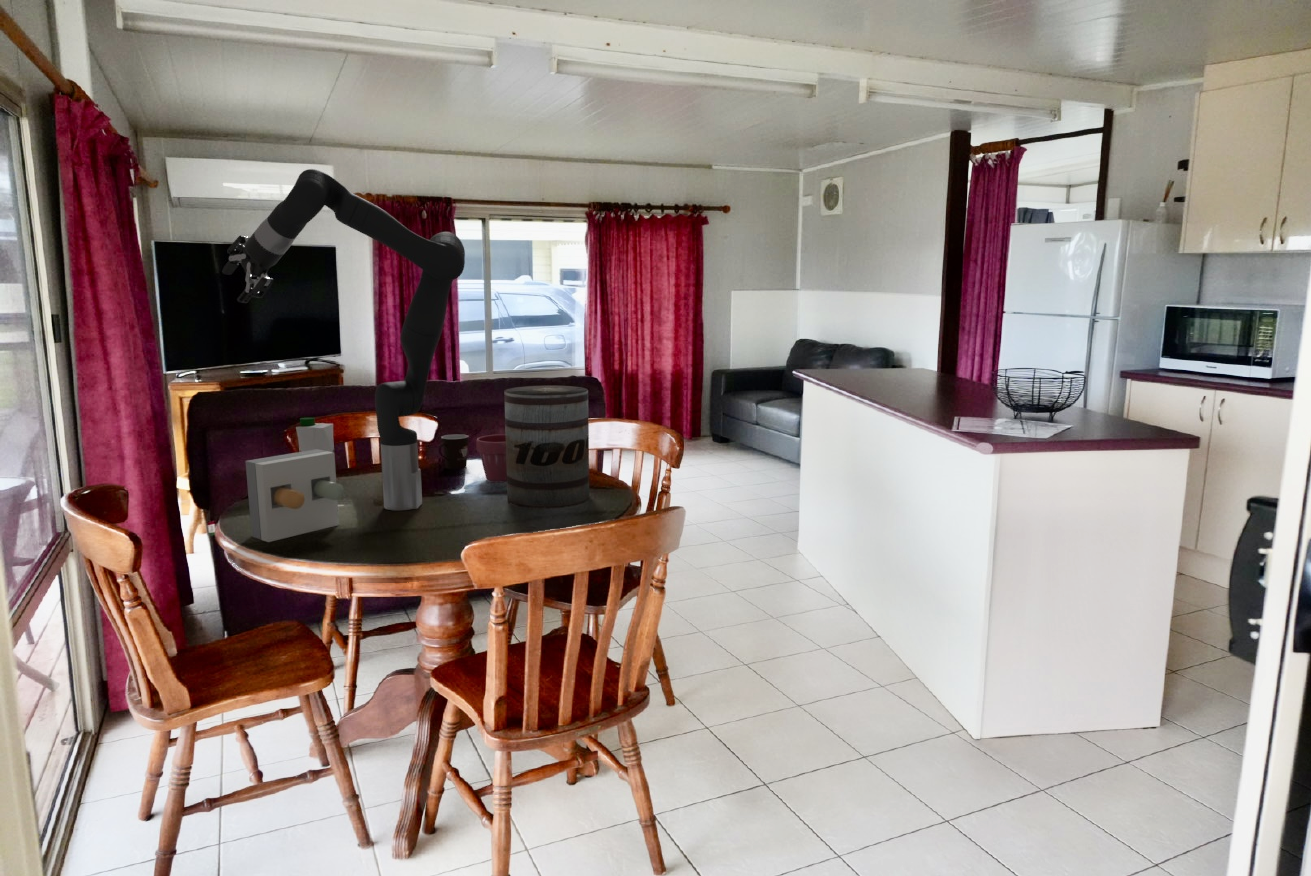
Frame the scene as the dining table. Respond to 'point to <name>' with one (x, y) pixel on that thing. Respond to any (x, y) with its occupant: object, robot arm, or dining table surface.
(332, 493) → the button sage
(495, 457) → the plant pot
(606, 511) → the dining table surface
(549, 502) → the barrel
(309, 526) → the control box
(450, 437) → the coffee mug
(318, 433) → the milk carton
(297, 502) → the button orange
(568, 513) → the dining table surface
